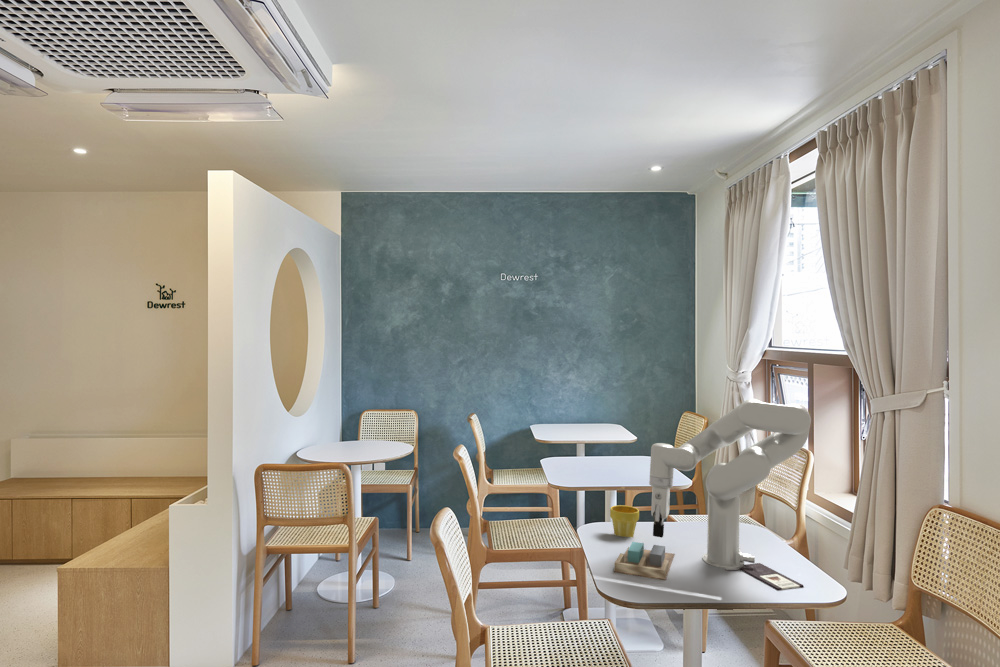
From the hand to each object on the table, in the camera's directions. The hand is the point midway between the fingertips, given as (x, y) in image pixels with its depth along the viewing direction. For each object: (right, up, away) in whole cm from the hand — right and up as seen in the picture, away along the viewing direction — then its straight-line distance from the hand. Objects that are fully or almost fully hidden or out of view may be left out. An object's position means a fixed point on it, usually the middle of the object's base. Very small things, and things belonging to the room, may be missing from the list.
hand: (658, 536), depth 198 cm
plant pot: (-8, -6, +18) cm, 20 cm away
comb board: (-7, -6, -11) cm, 14 cm away
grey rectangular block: (-3, -5, -9) cm, 11 cm away
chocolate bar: (+28, -7, -19) cm, 35 cm away
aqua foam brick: (-9, -5, -7) cm, 12 cm away
